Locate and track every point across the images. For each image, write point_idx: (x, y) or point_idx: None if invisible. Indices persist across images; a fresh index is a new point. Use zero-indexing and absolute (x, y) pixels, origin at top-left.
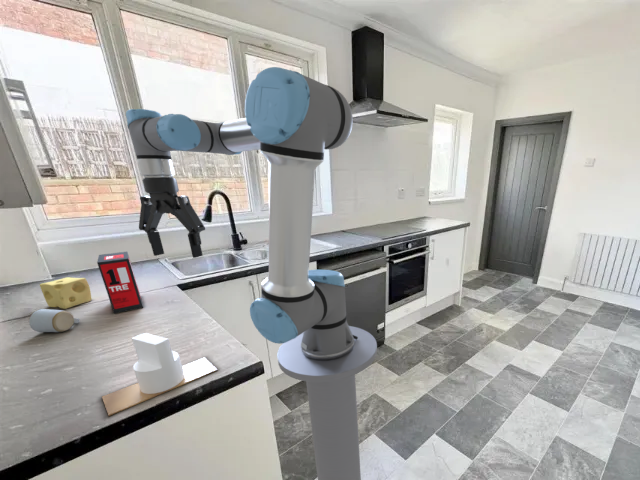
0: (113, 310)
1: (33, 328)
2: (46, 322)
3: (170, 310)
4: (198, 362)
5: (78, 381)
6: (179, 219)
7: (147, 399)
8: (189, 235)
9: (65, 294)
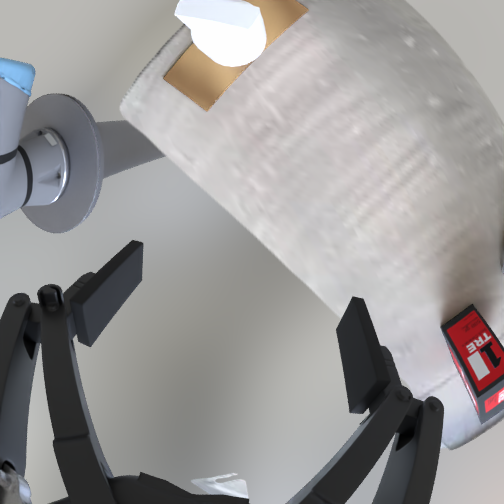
0: (474, 307)
1: None
2: None
3: (392, 317)
4: (208, 94)
5: (387, 56)
6: (65, 389)
7: None
8: (76, 297)
9: None
